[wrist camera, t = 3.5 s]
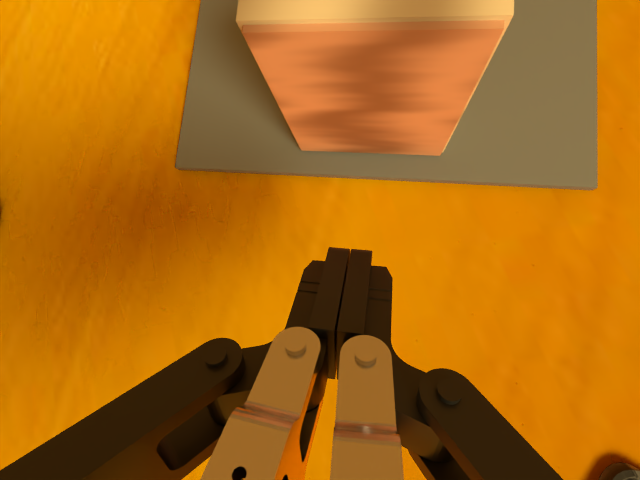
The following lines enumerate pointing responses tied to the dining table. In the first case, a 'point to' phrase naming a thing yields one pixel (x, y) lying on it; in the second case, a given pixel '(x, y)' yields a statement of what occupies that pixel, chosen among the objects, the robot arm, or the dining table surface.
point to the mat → (467, 139)
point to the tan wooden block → (373, 67)
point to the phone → (620, 472)
